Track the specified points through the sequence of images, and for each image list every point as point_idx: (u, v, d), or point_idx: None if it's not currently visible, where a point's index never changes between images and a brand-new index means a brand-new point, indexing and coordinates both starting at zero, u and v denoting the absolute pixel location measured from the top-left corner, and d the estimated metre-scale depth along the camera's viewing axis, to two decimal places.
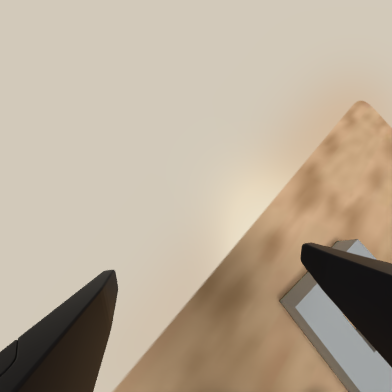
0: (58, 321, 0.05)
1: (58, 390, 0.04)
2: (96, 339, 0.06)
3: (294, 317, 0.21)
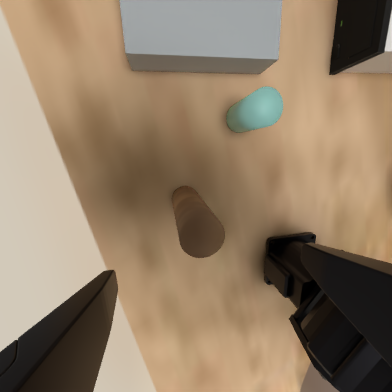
0: (58, 321, 0.05)
1: (58, 390, 0.04)
2: (96, 339, 0.06)
3: (154, 67, 0.16)
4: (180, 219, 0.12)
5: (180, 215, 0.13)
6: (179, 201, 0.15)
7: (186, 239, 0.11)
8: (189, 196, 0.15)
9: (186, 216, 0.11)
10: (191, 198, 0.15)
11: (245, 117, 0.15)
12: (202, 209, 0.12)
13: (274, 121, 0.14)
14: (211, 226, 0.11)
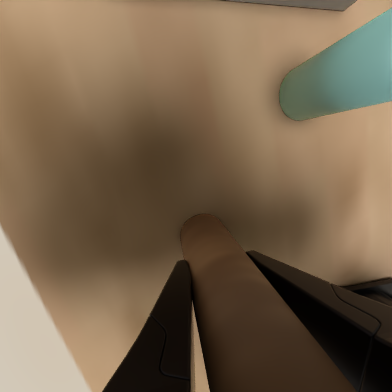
0: (175, 301, 0.05)
1: (192, 360, 0.05)
2: (192, 321, 0.06)
3: None
4: (222, 373, 0.04)
5: (217, 343, 0.04)
6: (201, 264, 0.07)
7: None
8: (223, 252, 0.07)
9: (251, 385, 0.03)
10: (231, 263, 0.06)
11: (354, 76, 0.06)
12: (295, 346, 0.04)
13: None
14: None
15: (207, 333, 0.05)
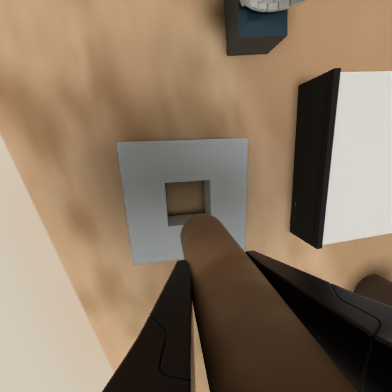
0: (175, 301, 0.05)
1: (192, 360, 0.05)
2: (192, 321, 0.06)
3: None
4: (222, 375, 0.04)
5: (217, 344, 0.04)
6: (201, 264, 0.07)
7: None
8: (223, 253, 0.07)
9: (252, 387, 0.03)
10: (231, 263, 0.06)
11: None
12: (296, 348, 0.04)
13: None
14: None
15: (207, 334, 0.05)
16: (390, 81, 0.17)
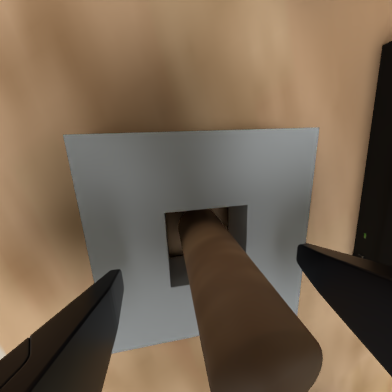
0: (68, 319, 0.05)
1: (70, 387, 0.04)
2: (104, 337, 0.06)
3: None
4: (206, 312, 0.05)
5: (204, 295, 0.06)
6: (195, 244, 0.08)
7: (229, 387, 0.04)
8: (213, 235, 0.08)
9: (225, 313, 0.05)
10: (218, 242, 0.08)
11: None
12: (258, 291, 0.05)
13: None
14: (294, 352, 0.04)
15: (197, 291, 0.06)
16: None
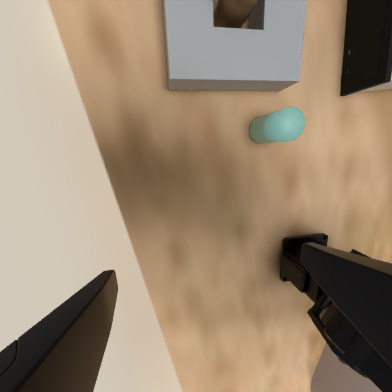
0: (58, 321, 0.05)
1: (58, 390, 0.04)
2: (96, 339, 0.06)
3: (189, 88, 0.18)
4: None
5: None
6: None
7: None
8: None
9: None
10: None
11: (271, 132, 0.17)
12: None
13: (297, 136, 0.16)
14: None
15: None
16: None
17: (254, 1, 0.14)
